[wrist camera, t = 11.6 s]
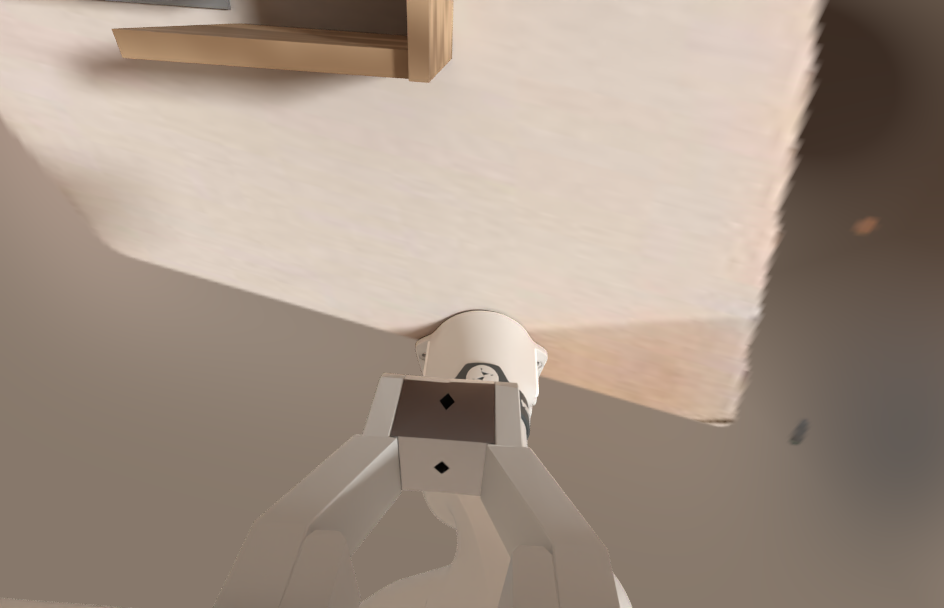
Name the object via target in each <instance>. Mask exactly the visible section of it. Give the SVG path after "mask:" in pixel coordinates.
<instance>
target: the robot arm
mask: <svg viewBox="0 0 944 608" xmlns="http://www.w3.org/2000/svg"><path fill="white" fill-rule="evenodd" d="M415 351H416V355H417V358H418V362H419V365H420V368H421V372H422V375H423V376H416V375H402V374H391V373H383V374H382V375H381V377H380V379H379V382H378V385H377V388H376V391H375V395H374V398H373V401H372V404H371V407H370V411H369V414H368V417H367V420H366V423H365V427H364V429H363V433H362V435H356V434H355V435H354V436H353V437H351V438H350V439H349V440H348V441H347V442H346V443H344V444H343V445H342V446H341V447H340V448H338V449H337V450H336V451H335V452H334V453H333V454H332V455H330V456H329V457H328V458H327V459H326V460H325V461H323V462H322V463H321V464H320V465H319V466H318V467H317V468H315V469H314V470H313V471H312V472H311V473H310V474H308V475H307V476H306V477H305V478H304V479H303V480H302V481H300V482H299V483H298V484H297V485H296V486H295V487H293V488H292V489H291V490H290V491H289V492H288V493H286V494H285V495H284V496H283V497H282V498H281V499H279V500H278V501H277V502H276V503H275V504H274V505H273V506H271V507H270V508H269V509H268V510H267V511H266V512H264V513H263V514H262V515H261V516H260V517H259V518H258V519H256V520H255V521H254V522H253V524H252V527H251V528H250V530H249V533H248V535H247V537H246V539H245V541H244V543H243V545H242V547H241V549H240V552H239V554H238V556H237V558H236V560H235V562H234V564H233V566H232V568H231V570H230V572H229V575H228V576H227V579H226V581H225V583H224V585H223V587H222V589H221V591H220V594H219V595H218V597H217V599H216V602H215V604H214V606H213V608H632V605H631V603H630V601H629V598H628V597H627V594H626V593H625V590H624V589H623V587H622V585H621V583H620V582H619V580H618V579H617V578H616V576H615V575H614V573H613V572H612V567H611V562H610V557H609V552H608V549H607V548H606V546H605V545H604V544H603V543H602V541H601V540H600V539H599V537H598V536H597V535H596V533H595V532H594V531H593V529H592V528H591V527H590V526H589V524H588V523H587V522H586V520H585V519H584V518H583V516H582V515H581V514H580V512H579V511H578V510H577V508H576V507H575V506H574V505H573V503H572V502H571V501H570V499H569V498H568V497H567V495H566V494H565V493H564V491H563V490H562V489H561V487H560V486H559V485H558V484H557V482H556V481H555V480H554V478H553V477H552V476H551V474H550V473H549V472H548V470H547V469H546V468H545V466H544V465H543V464H542V462H541V461H540V460H539V459H538V457H537V456H536V455H535V453H534V452H533V451H532V449H531V448H529V447H528V446H527V440H528V437H529V433H530V417H531V414H532V405H535V404H536V400H537V396H538V393H539V386H538V377H539V375H540V373H541V371H542V369H543V367H544V365H545V364H546V362H547V359H548V353H547V351H546V350H545V349H544V348H543V347H541V346H540V345H538V344H537V343H535V342H534V341H533V340H532V339H531V338H530V336H529V335H528V333H527V332H526V330H525V329H524V328H523V327H522V326H521V325H520V324H519V323H518V322H516V321H515V320H513V319H512V318H510V317H508V316H505V315H503V314H500V313H496V312H491V311H469V312H464V313H461V314H458V315H455V316H453V317H451V318H449V319H448V320H446V321H445V322H444V323H442V324H441V325H440V326H439V327H438V329H437V330H436V331H435V332H434V333H432V334H431V335H428V336H426V337H423V338H421V339H420V340H418V341H417V342H416V344H415ZM424 353H426V354H424ZM401 490H408V491H423V495H424V498H425V500H426V502H427V504H428V506H429V508H430V510H431V511H432V513H433V514H434V515H435V516H436V517H437V518H438V519H439V520H440V521H441V522H443V523H444V524H446V525H448V526H449V527H451V528H454V529H456V530H457V551H456V555H455V558H454V560H453V562H452V564H450V565H448V566H445V567H442V568H438V569H435V570H431V571H428V572H424V573H421V574H418V575H414V576H411V577H407V578H404V579H401V580H397V581H395V582H393V583H391V584H389V585H388V586H386V587H384V588H383V589H381V590H379V591H378V592H376V593H375V594H373V595H371V596H370V597H369V598H367V599H366V600H364V601H363V602H361V603H360V599H361V596H360V592H359V588H358V584H357V580H356V576H355V572H354V568H353V564H352V560H351V556H352V555H353V554H354V552H355V551H356V550H357V549H358V547H359V546H360V545H361V543H362V542H363V541H364V540H365V538H366V537H367V536H368V535H369V533H370V532H371V531H372V529H373V528H374V527H375V526H376V524H377V523H378V522H379V521H380V519H381V518H382V517H383V516H384V514H385V513H386V512H387V510H388V509H389V508H390V507H391V505H392V504H393V503H394V502H395V500H396V499H397V498H398V497H399V495H400V494H401ZM0 608H128V607H114V606H101V605H88V604H75V603H62V602H47V601H35V600H34V601H33V600H22V599H8V598H0Z"/></svg>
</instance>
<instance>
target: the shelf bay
mask: <svg viewBox="0 0 944 608" xmlns="http://www.w3.org/2000/svg"><path fill="white" fill-rule="evenodd" d="M112 31H113V34H114V36H115V39H116V42H117V44H118V47H119V49H120V52H121V55H122V57H123V58H131V59H144V60H158V61H172V62H186V63H199V64H213V65H227V66H241V67H254V68H268V69H282V70H295V71H309V72H323V73H337V74H350V75H364V76H378V77H392V78H405V79H409V81H414V82H427V83H429V82H430V81H431V80H432V79H433V78H434V77H435V76H436V74H437V73H438V72H439V71H440V70H441V69H442V68H443V67H444V66H445V65H446V64H447V63H448V62H449V61H450V60H451V59H452V31H453V0H407V34H408V36H406V35H392V34H378V33H364V32H350V31H337V30H323V29H309V28H295V27H281V26H268V25H254V24H240V23H239V24H215V25H191V26H167V27H143V28H119V29H112Z"/></svg>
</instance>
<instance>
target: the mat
mask: <svg viewBox="0 0 944 608" xmlns="http://www.w3.org/2000/svg"><path fill="white" fill-rule="evenodd" d="M107 1H120V2H134V3H148V4H162V5H176V6H189V7H203V8H217V9H231V8H230V4H229V0H107Z"/></svg>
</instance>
